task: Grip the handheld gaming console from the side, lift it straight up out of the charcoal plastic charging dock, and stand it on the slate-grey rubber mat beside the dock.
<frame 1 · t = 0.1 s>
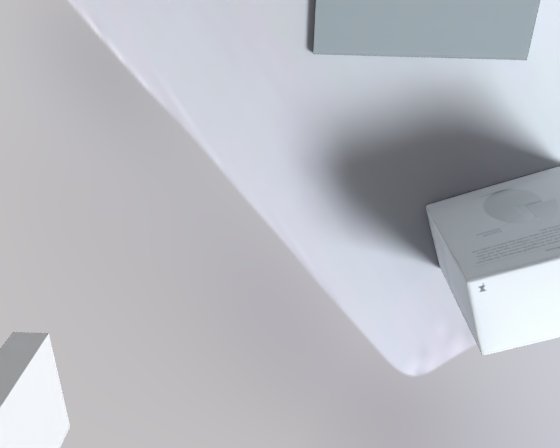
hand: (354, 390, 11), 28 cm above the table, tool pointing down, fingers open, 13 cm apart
skincare box: (499, 219, 40), on the table
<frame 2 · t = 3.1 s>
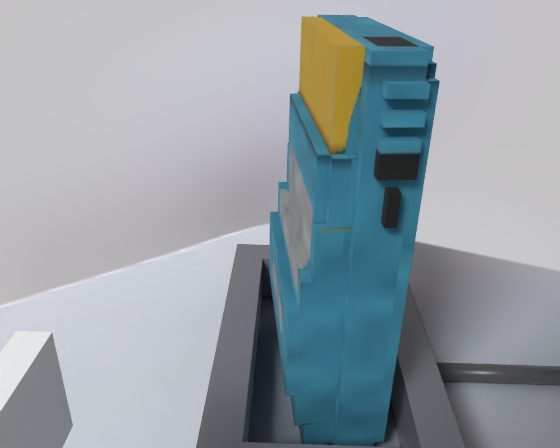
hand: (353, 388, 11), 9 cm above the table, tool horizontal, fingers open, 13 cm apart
handheld gaming console: (319, 378, 24), resting in charging dock
charging dock: (320, 374, 24), on the table
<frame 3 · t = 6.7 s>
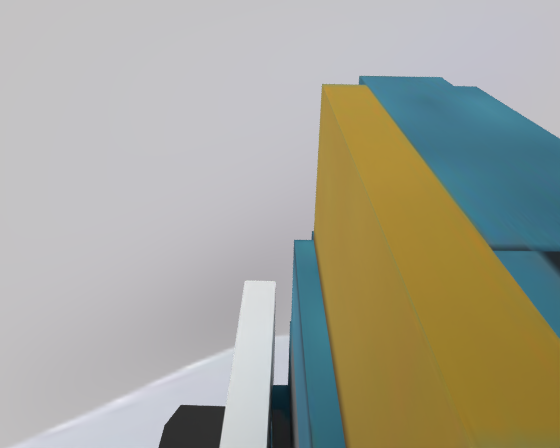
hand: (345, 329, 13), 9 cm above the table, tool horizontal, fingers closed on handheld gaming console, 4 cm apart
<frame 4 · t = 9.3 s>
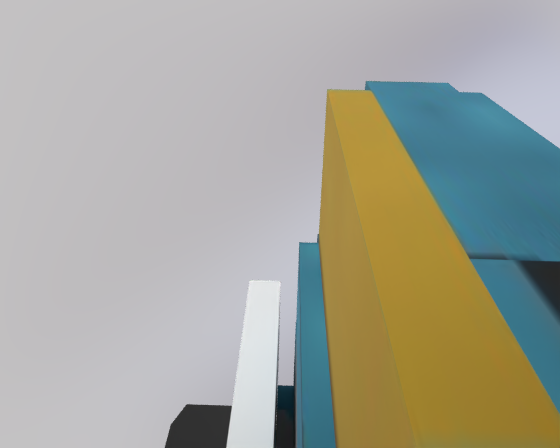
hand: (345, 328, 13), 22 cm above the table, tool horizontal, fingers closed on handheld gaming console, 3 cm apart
when the fingers open (10 cm above the table, at t = 11.9 s): handheld gaming console stays where it is, resting on mat.
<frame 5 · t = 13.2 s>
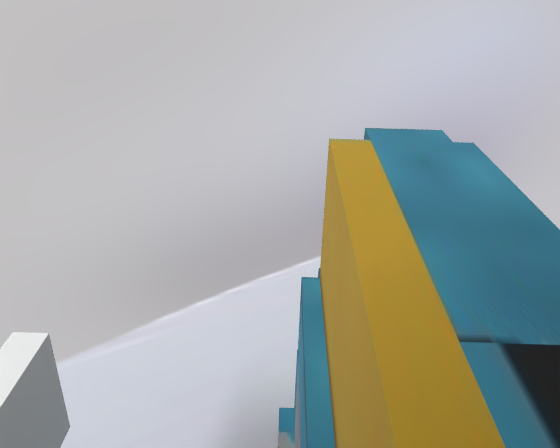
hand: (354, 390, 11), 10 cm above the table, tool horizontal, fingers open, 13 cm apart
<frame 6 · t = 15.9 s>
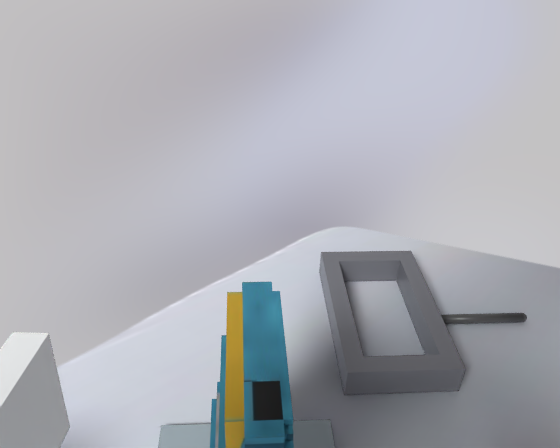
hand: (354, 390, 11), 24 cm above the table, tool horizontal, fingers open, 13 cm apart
charging dock: (380, 323, 47), on the table
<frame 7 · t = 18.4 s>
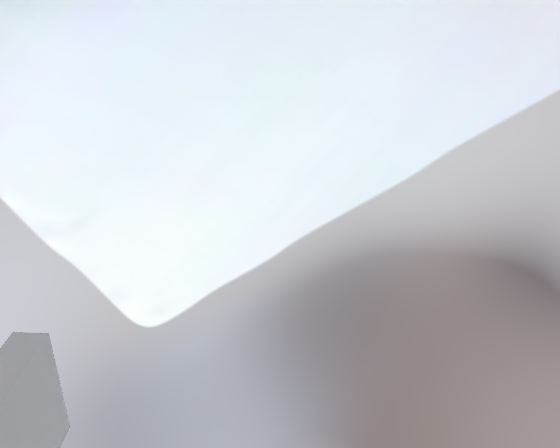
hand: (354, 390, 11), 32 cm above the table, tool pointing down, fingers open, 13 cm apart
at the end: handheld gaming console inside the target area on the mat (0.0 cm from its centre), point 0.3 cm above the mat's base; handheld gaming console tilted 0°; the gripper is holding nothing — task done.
